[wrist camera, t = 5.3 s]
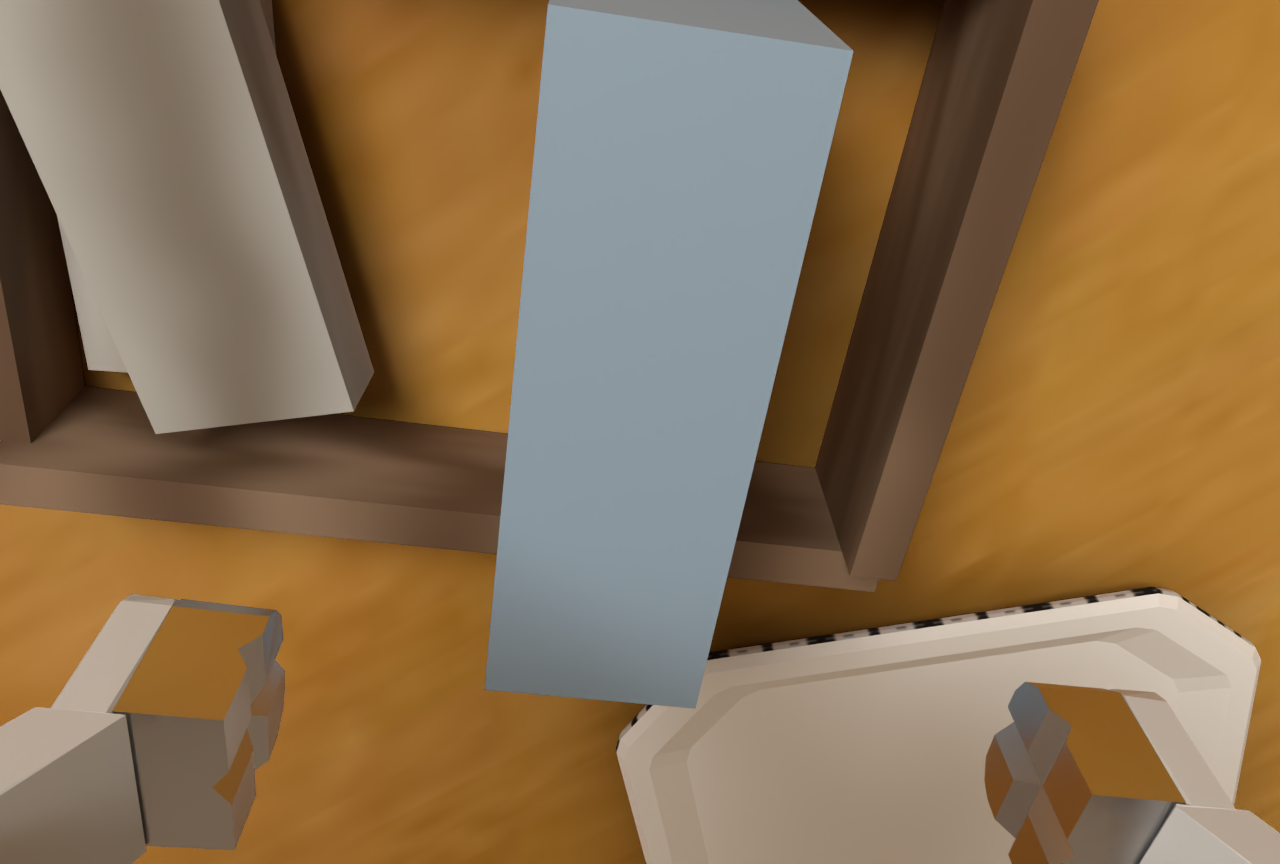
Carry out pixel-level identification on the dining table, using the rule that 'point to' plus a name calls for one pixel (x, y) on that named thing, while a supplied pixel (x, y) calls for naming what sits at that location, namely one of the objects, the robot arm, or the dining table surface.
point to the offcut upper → (187, 204)
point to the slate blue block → (651, 329)
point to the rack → (475, 460)
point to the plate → (908, 729)
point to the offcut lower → (90, 319)
